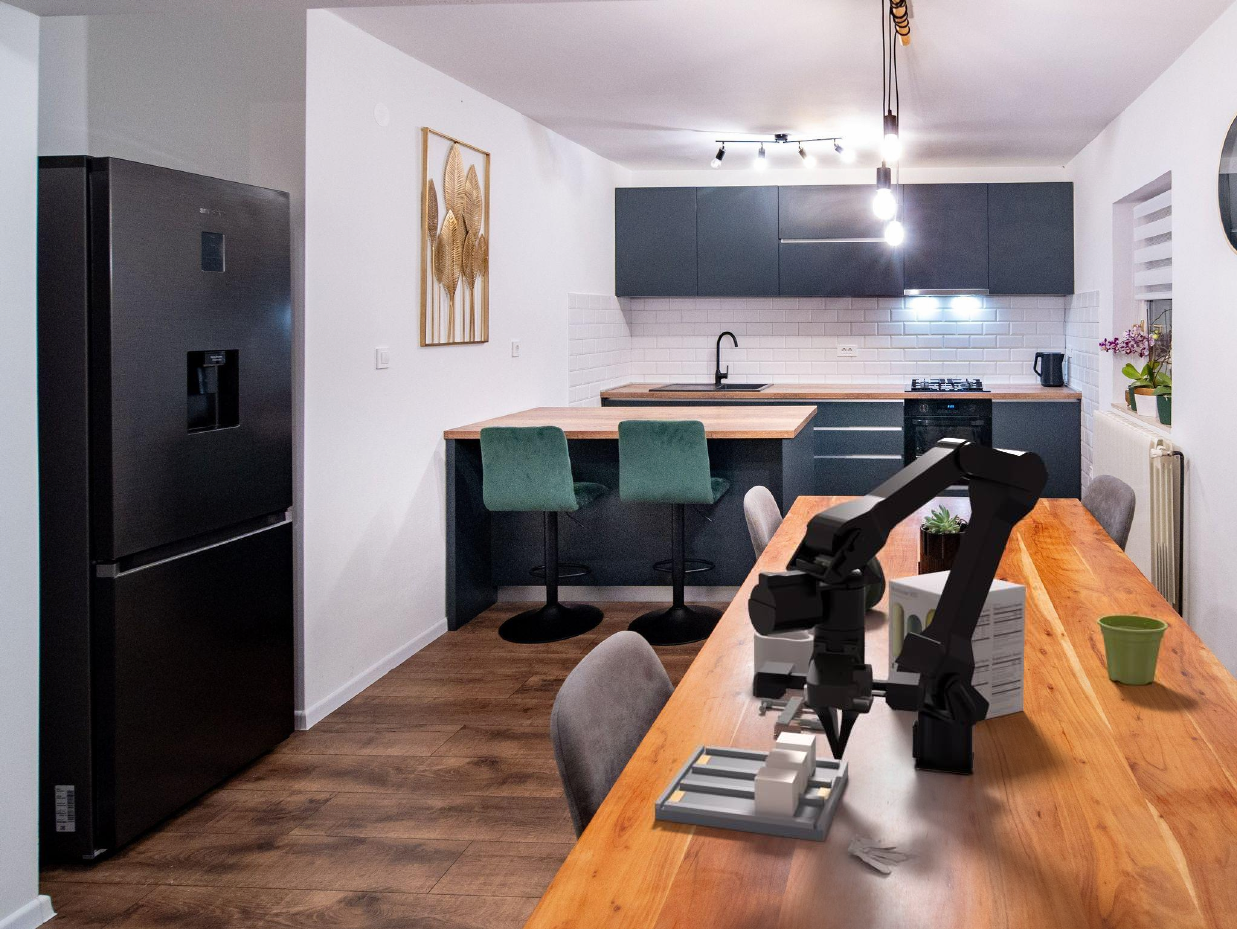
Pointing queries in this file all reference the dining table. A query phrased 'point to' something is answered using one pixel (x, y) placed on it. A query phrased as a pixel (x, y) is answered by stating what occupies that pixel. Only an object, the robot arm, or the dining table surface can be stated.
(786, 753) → the beige block
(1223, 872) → the dining table surface
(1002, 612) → the supplement box
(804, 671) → the lumpy-topped squat cylinder
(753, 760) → the grey tray
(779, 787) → the beige block
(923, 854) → the dining table surface
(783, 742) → the white block
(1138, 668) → the plant pot
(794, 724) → the clamp
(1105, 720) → the dining table surface
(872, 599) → the squash
